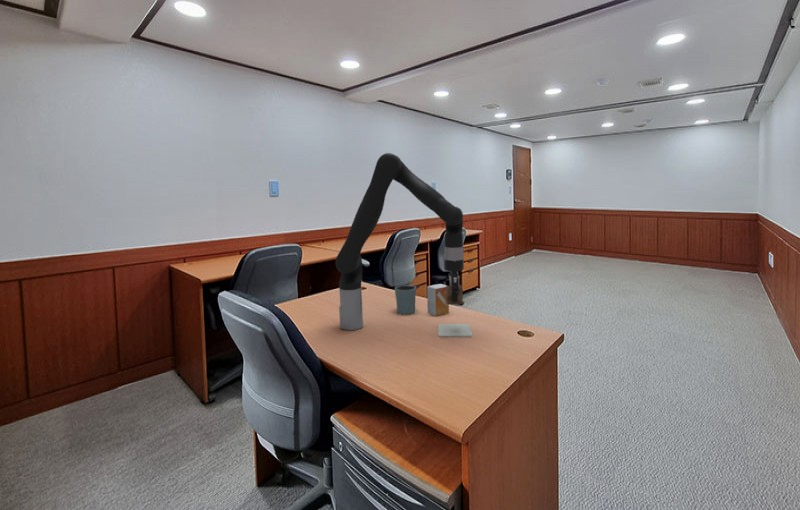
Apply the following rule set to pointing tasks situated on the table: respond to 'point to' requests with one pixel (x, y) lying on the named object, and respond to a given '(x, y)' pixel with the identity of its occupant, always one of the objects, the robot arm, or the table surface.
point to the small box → (437, 300)
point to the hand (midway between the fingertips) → (454, 299)
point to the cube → (449, 295)
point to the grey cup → (405, 299)
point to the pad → (454, 330)
